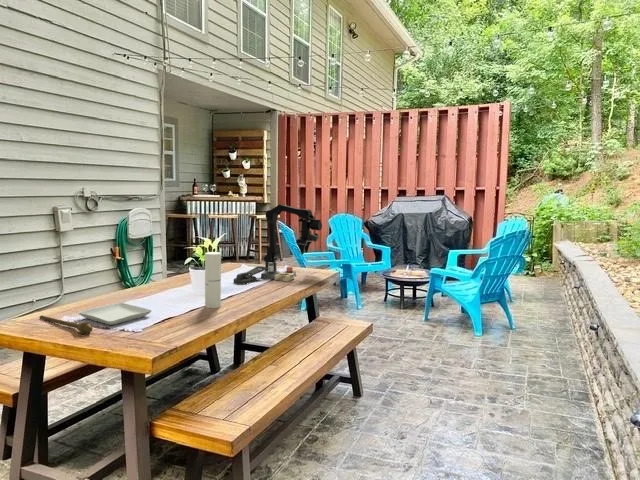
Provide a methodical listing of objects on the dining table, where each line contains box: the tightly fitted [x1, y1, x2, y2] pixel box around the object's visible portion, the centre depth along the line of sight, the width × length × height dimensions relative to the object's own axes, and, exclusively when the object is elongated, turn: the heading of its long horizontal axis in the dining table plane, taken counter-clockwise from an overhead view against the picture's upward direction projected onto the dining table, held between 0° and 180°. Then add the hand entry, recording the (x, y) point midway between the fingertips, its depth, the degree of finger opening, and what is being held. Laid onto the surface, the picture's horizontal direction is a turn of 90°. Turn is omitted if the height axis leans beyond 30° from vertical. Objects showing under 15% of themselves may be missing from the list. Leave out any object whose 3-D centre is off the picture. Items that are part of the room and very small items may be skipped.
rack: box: [274, 272, 295, 282], centre depth 294 cm, size 9×9×3 cm
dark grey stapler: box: [233, 265, 268, 285], centre depth 288 cm, size 9×7×25 cm
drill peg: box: [267, 262, 275, 274], centre depth 300 cm, size 3×3×9 cm
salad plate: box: [77, 302, 152, 326], centre depth 205 cm, size 21×21×3 cm
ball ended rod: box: [39, 315, 93, 335], centre depth 191 cm, size 5×35×5 cm
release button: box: [286, 266, 293, 273], centre depth 306 cm, size 4×4×4 cm
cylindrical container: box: [204, 251, 222, 309], centre depth 227 cm, size 7×7×25 cm
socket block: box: [260, 270, 297, 280], centre depth 303 cm, size 17×17×3 cm
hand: (304, 253), depth 311 cm, fingers open, 9 cm apart
